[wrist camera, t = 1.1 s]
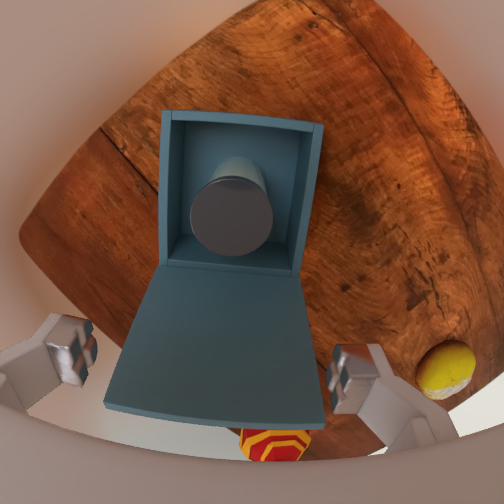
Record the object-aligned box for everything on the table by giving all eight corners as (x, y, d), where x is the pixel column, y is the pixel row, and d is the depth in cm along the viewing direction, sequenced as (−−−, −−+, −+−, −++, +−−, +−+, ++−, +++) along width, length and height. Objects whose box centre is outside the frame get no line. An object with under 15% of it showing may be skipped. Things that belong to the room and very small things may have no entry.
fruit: (400, 389, 45) (421, 414, 37) (420, 332, 44) (446, 352, 36) (448, 386, 46) (471, 408, 38) (467, 334, 44) (494, 351, 37)
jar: (242, 143, 29) (238, 160, 19) (277, 187, 31) (289, 227, 21) (198, 177, 31) (173, 212, 21) (233, 219, 33) (225, 271, 23)
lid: (102, 401, 15) (105, 408, 15) (326, 423, 16) (322, 429, 16) (157, 264, 27) (158, 272, 28) (300, 277, 28) (298, 285, 28)
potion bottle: (232, 386, 44) (228, 474, 31) (302, 377, 44) (315, 465, 30) (246, 423, 49) (246, 500, 35) (307, 415, 48) (318, 492, 34)
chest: (180, 109, 28) (161, 110, 22) (309, 121, 29) (324, 124, 23) (175, 236, 34) (159, 266, 28) (290, 247, 35) (298, 278, 29)
